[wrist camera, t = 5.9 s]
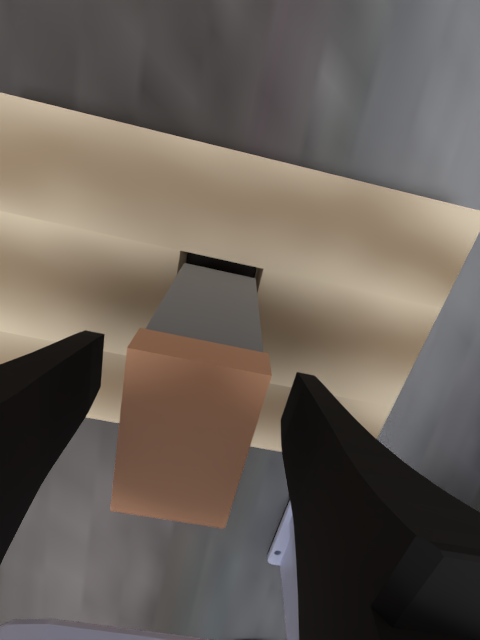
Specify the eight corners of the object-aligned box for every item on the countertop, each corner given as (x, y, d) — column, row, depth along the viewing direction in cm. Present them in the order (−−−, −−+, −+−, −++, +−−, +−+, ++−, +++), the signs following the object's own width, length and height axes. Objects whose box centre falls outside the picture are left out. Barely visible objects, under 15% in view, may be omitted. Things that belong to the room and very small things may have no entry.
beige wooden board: (348, 429, 22) (363, 466, 20) (26, 369, 21) (-7, 400, 18) (448, 204, 17) (488, 213, 14) (18, 98, 15) (-32, 84, 12)
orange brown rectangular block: (232, 380, 17) (224, 528, 10) (165, 367, 16) (110, 510, 10) (258, 276, 15) (271, 376, 8) (182, 259, 14) (126, 348, 8)
